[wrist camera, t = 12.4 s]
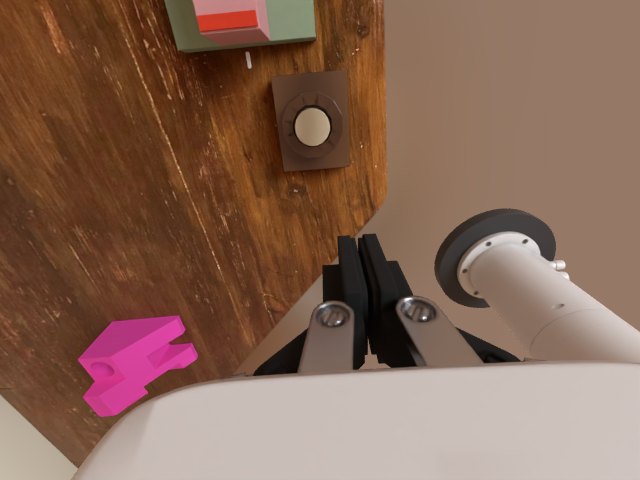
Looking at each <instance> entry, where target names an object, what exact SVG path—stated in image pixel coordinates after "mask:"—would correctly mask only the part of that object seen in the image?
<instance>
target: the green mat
mask: <svg viewBox="0 0 640 480" xmlns="http://www.w3.org/2000/svg"><path fill="white" fill-rule="evenodd" d="M164 1H165V4H166V8H167V12H168V16H169V19H170V23H171V27H172V30H173V34H174V38H175V42H176V45H177V49H178V50H179V51H182V52H185V53H190V52H201V51H211V50H221V49H232V48H242V47H253V46H263V45H274V44H284V43H295V42H305V41H315V40H316V35H315V20H314V6H313V0H265V3H266V10H267V18H268V25H269V32H270V41H265V42H255V43H245V44H235V45H224V46H221V45H219V44H217V43H216V42H214V41H212V40H210V39H208V38H206V37H204V36H202V35H201V34H200V31H199V26H198V22H197V18H196V13H195V9H194V5H193V1H192V0H164ZM245 53H246V59H247V64H248V68H252V66H251V60H250V54H249V52H245Z"/></svg>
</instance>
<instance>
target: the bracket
mask: <svg viewBox="0 0 640 480" xmlns="http://www.w3.org/2000/svg"><path fill="white" fill-rule="evenodd" d="M184 331H185V328H184V325H183V323H182V321H181V319H180V317H179V315H177V316H166V317H155V318H145V319H134V320H124V321H113V322H111V324H110V325H109V326H108V327H107V328H106V329H105V330H104V331H103V332H102V333H101V334H100V336H99V337H98V338H97V339H96V340H95V341H94V342H93V343H92V344H91V345H90V347H89V348H88V349H87V350H86V351H85V352H84V353H83V354H82V355H81V356H80V357H79V359H78V361H79V362H80V363H81V364H82V366H83V367H84V368H85V369H86V371H87V372H88V373H89V374H90V376H91V377H92V378H93V379H94V381H95V382H94V383H93V384H92V386H91V387H90V388H89V390H88V391H87V392H86V393H85V395H84V396H83V398H84V399H85V401H86V402H87V403H88V404H89V405H90V406H91V407H92V409H93V410H94V411H95V412H96V413H97V414H98V415H99V416H100V417H102V416H115V415H117V414H118V413H119V412H121V411H122V410H124V409H125V408H127V407H128V406H130V405H131V404H132V403H134V402H135V401H137V400H138V399H140V398H141V397H143V396H144V395H145V394H147V393H148V392H147V391H146V389H145V388H144V386H145V385H147V384H148V383H150V382H151V381H153V380H154V379H156V378H157V377H159V376H160V375H162V374H163V373H165V372H166V371H167V370H169V369H181V368H185V367H186V366H187V365H189V364H190V363H192V362H193V361H195V360H196V359H197V357H198V354H197V352H196V350H195V348H194V346H193V344H192V343H186V344H175V345H169V343H168V342H170V341H172V340H173V339H175V338H177V337H178V336H180V335H182V334H183V333H184Z"/></svg>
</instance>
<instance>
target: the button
mask: <svg viewBox="0 0 640 480" xmlns="http://www.w3.org/2000/svg"><path fill="white" fill-rule="evenodd" d="M329 131H330V124H329V120H328V118H327V116H326V114H325V113H324V112H323V111H321V110H320V109H317V108H308V109H305V110H304V111H302V112H301V113H300V114H299V115H298V117H297V119H296V122H295V132H296V135H297V137H298V139H299V140H300V141H301V142H302V143H304V144H305V145H308V146H317V145H320V144H321V143H323V142H324V141H325V140H326V139H327V137H328V135H329Z"/></svg>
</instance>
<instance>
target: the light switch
mask: <svg viewBox="0 0 640 480" xmlns="http://www.w3.org/2000/svg"><path fill="white" fill-rule="evenodd" d="M271 84H272V91H273V98H274V105H275V112H276V119H277V126H278V133H279V140H280V147H281V154H282V161H283V169H284V172H289V171H302V170H314V169H327V168H339V167H349V166H350V165H349V128H348V90H347V70H337V71H326V72H315V73H304V74H293V75H282V76H272V77H271ZM308 108H317V109H320V110H321V111H323V112H324V113H325V114H326V116H327V118H328V120H329V124H330V131H329V135H328V137H327V139H326V140H325V141H324V142H323V143H321V144H320V145H317V146H308V145H305V144H304V143H302V142H301V141H300V140H299V139H298V137H297V135H296V132H295V122H296V119H297V117H298V115H299V114H300V113H301V112H302V111H304V110H305V109H308Z"/></svg>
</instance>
